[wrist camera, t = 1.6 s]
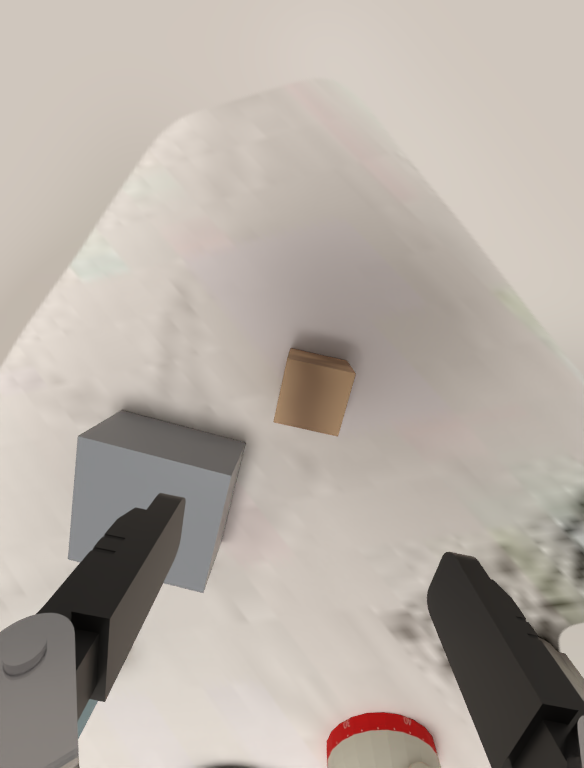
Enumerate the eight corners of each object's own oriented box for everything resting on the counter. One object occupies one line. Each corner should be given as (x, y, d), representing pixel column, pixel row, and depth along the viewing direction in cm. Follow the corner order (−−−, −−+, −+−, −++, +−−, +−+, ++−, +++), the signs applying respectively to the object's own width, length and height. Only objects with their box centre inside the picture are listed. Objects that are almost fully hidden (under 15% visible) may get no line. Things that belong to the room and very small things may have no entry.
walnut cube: (346, 360, 27) (355, 373, 22) (332, 412, 28) (337, 436, 23) (290, 347, 26) (287, 358, 22) (279, 401, 28) (273, 422, 23)
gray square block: (246, 441, 29) (231, 475, 23) (221, 540, 32) (203, 592, 27) (123, 409, 29) (78, 436, 23) (110, 512, 32) (67, 559, 26)
